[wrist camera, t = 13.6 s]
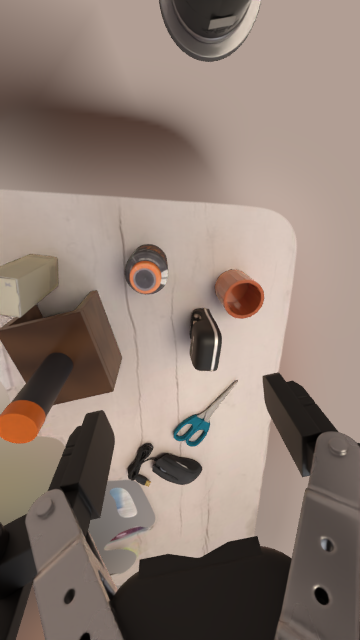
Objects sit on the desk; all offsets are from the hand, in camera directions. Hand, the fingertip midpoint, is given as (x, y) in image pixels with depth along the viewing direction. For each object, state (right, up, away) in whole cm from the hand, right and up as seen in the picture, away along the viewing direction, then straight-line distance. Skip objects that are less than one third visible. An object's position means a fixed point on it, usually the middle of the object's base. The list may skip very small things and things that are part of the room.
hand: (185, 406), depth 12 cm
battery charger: (+3, +4, +35) cm, 35 cm away
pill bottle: (-5, +14, +30) cm, 33 cm away
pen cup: (+9, +10, +32) cm, 35 cm away
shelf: (-19, +2, +34) cm, 39 cm away
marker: (-18, -2, +25) cm, 31 cm away
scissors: (+6, -16, +43) cm, 47 cm away
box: (-22, +12, +29) cm, 39 cm away
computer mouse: (-4, -32, +50) cm, 60 cm away
